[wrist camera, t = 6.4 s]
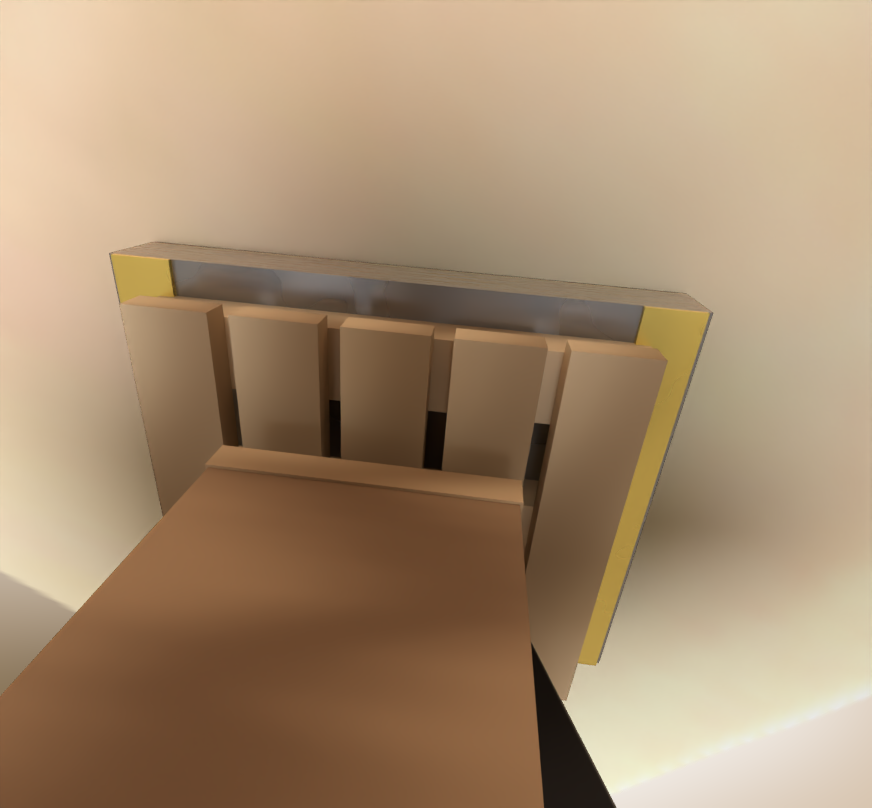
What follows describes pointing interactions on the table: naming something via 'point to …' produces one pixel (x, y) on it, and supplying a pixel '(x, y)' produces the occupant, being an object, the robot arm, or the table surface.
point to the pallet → (412, 419)
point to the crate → (294, 651)
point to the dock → (461, 305)
